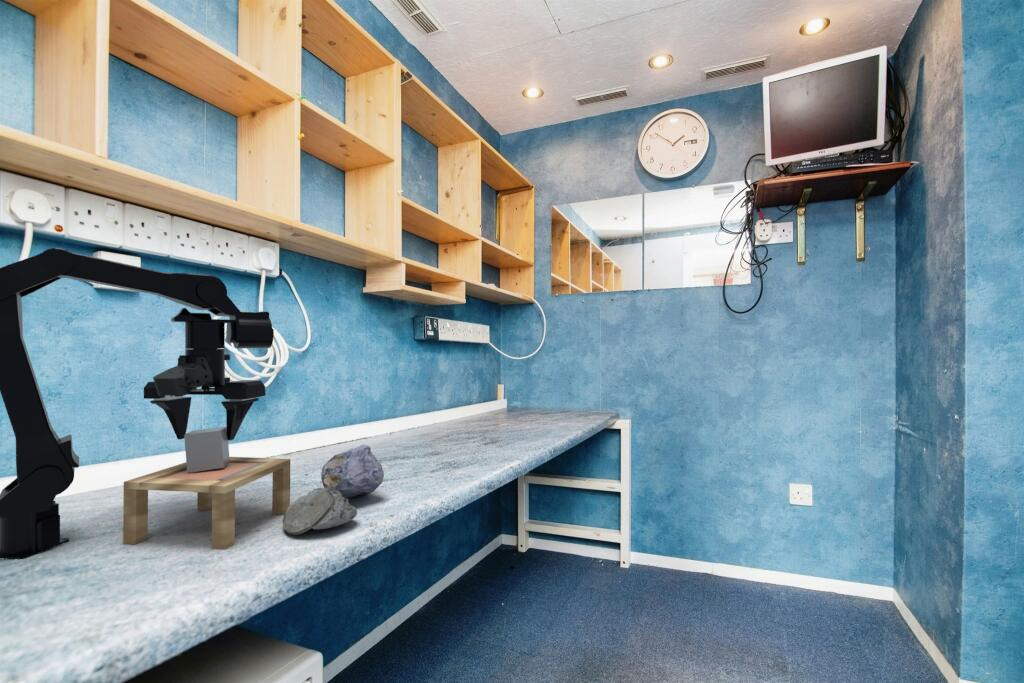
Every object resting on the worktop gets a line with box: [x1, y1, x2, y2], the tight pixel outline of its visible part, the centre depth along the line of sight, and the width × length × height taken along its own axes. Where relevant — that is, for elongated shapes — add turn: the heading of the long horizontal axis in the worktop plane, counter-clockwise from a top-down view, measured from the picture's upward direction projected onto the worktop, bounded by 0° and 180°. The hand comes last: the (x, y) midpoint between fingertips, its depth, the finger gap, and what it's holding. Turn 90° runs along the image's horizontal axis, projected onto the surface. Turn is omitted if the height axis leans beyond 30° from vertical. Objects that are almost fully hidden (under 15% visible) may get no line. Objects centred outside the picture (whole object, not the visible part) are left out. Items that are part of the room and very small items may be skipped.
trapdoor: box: [165, 463, 264, 481], centre depth 76 cm, size 10×10×1 cm
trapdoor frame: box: [122, 456, 291, 551], centre depth 76 cm, size 16×16×9 cm
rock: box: [320, 444, 385, 498], centre depth 88 cm, size 11×10×10 cm
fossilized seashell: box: [282, 486, 358, 536], centre depth 77 cm, size 10×9×10 cm
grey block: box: [184, 426, 230, 473], centre depth 78 cm, size 5×5×6 cm
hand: (205, 439), depth 82 cm, fingers open, 9 cm apart
